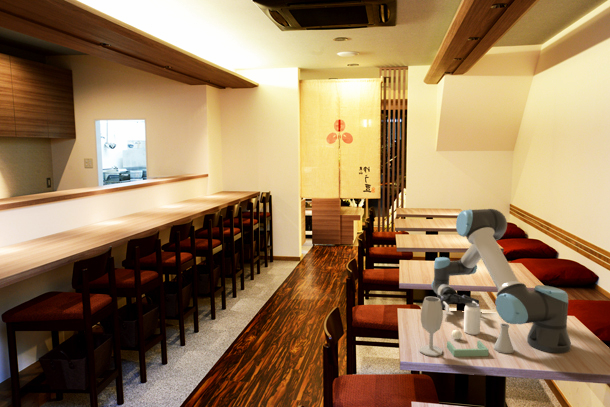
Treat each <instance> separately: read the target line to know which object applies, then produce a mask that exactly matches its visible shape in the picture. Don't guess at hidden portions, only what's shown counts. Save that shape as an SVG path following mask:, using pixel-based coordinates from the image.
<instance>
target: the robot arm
mask: <svg viewBox="0 0 610 407" xmlns="http://www.w3.org/2000/svg"><path fill="white" fill-rule="evenodd" d="M455 222H456V223H455V227H456V228H455V229H456V232H457V234H458V235H459V236H460V237H463V238H465V237H466V239H467V241H468V243H469V244H470V246H469V248H468V249H467V250H466V251H465V252H464V254H463V255H462V256H461V258H460V259H459V260H451V259H450V258H449V257H445V256H442V257H441V256H440V257H439V256H438V257H436V258H435V260H434V264H433V268H434V269H433V270H434V271H433V272H434V273H433V275H434V276H433V281H432V282H431V288H432V291H433V292H434V293H435V294H436V296H437V297H436V298H439V299H440V301H441V304H442V309H444V310H445V312H447V313H450V305H449V304H453V303H454V304H455V303H456V304H465V305H466V303H476V304H479V305H480V299H477V298H474V297H471V296H468V295H467V294H462V295H459V294H458V292H457V290H455V289H454V288H453V287H452V286H450V277H452V276H454V277H455V276H465V275H466V276H470V275H473V274H476V273H477V269H478V266H477V264H478V263H479V262H480V260H482V262H483V265H484V266H485V268H486V271H487V272H488V273H489V274H488V275H490V277H491V280H492V281H493V283H494V285H495V288H496V289H497V293H496V295H495V296H496V298H495V303H494V304H495V309H496V312H497V314H498V315H499V317H500V318H501V319H502V320H503V321H504V322H505V323H506V324H508V325H509V324H510V325H524V324H531V323H532V325H531V327H530V329H529V331H528V334H527V338H526V339H527V341H526V342H527V343H528V345H529V346H531V347H533V348H534V349H536V350H539V351H543V352H547V353H555V354H563V353H568V352H570V351H571V350H572V349H571V348H572V342H571V339H570V337H569V333H568V329H567V328H568V327H567V324H568V311H569V310H568V309H569V294H568V293H567V292H566V291H565V290H563V289H560V288H557V287H554V286H549V285H540V284H539V285H535V286H534V288H533V289H534V291H533V290H531V291H529V289H528V287H527V285H526V284H525V283H524V282H520V281H519V279H518V278H517V276H516V274H515V273H514V270H513V269H512V267H511V265H510V264H509V262H508V260H507V258H506V256H505V255H504V253H503V251H502V249H501V248H500V246H499V244H498V241H499V240H500V239H501V238H502V237H503V236H504V234H505V233H506V231H507V227H508V221H507V218H506V216H505V215H504V214H503V213H502V212H501V211H499V210H498V209H494V208H488V209H487V208H484V209H481V208H480V209H470V208H469V209H466V210H462V211H460V212H459V214H458V215H457V218H456V221H455ZM479 307H480V308H481V306H479Z"/></svg>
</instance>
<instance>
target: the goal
mask: <svg viewBox="0 0 610 407" xmlns="http://www.w3.org/2000/svg"><path fill="white" fill-rule="evenodd" d="M476 347H477V348H456V347H455V346H454V345H453V344H452V342H451V341H450V340H449V341H446V348H447V350H448V351H449V352H450V354H451V355H452V356H453V357H454V358H455V357H456V358H457V357H488V356H489V348H488V347H487V346H485V344H484V343H483V342H482V341H481V340H477V341H476Z"/></svg>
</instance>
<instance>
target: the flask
mask: <svg viewBox="0 0 610 407" xmlns="http://www.w3.org/2000/svg"><path fill="white" fill-rule="evenodd" d="M509 328H510V325H509V323H500V332H499V335H498V337H497V340H496V342H495V343H494V346H493V349H494V350H495V351H497V352H498V353H504V354H512V353H514V350H515V349H514V347H513V344H512V341H511V338H510V335H509Z"/></svg>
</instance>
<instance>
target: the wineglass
mask: <svg viewBox="0 0 610 407" xmlns="http://www.w3.org/2000/svg"><path fill="white" fill-rule="evenodd" d="M443 315H444V314H443V308H442V304H441V301H440V299H439V298H437V297H436V296H425V297H424V299H423V301H422V305H421V312H420V322H421V327H422V329H424V330H425V331H427V333H428V334H429V340H428V341H429V344H425V345H421V346H420V348H419V353H421V354H423V355H425V356H429V357H438V356H441V355H442V354H443V348H441V347H438V346H437V345H434V334H436V332H438V331H439V330H441V327H442V323H443V319H444V318H443V317H444V316H443Z"/></svg>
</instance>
